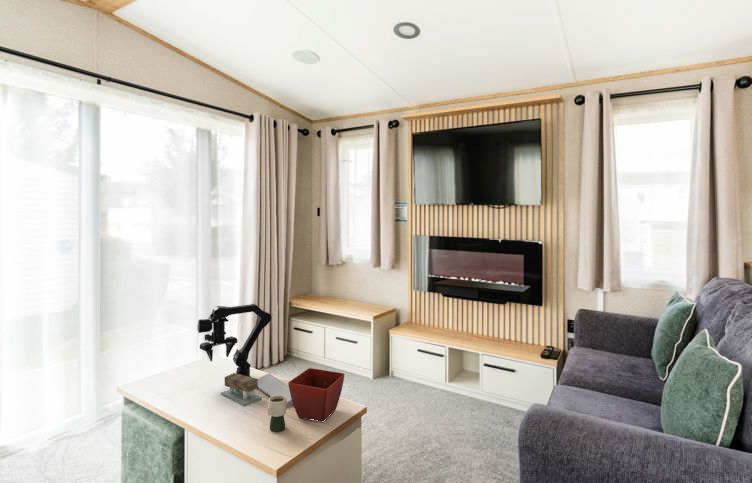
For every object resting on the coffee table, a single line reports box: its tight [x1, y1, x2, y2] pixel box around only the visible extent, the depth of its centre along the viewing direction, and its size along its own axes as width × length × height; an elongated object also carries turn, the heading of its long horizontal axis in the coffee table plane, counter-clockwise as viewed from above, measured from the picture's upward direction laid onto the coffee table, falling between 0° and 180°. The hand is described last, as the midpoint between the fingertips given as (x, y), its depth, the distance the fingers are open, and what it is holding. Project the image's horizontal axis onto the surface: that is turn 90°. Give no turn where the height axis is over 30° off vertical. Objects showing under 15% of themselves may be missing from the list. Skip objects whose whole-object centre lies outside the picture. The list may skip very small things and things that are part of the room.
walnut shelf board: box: [224, 372, 259, 392], centre depth 198 cm, size 16×6×4 cm, turn 63°
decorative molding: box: [257, 372, 293, 408], centre depth 203 cm, size 34×5×10 cm
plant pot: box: [287, 367, 345, 422], centre depth 181 cm, size 19×19×17 cm
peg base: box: [220, 387, 263, 407], centre depth 198 cm, size 10×20×5 cm, turn 51°
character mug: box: [267, 395, 287, 432], centre depth 167 cm, size 11×7×13 cm, turn 152°
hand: (219, 359), depth 214 cm, fingers open, 9 cm apart
